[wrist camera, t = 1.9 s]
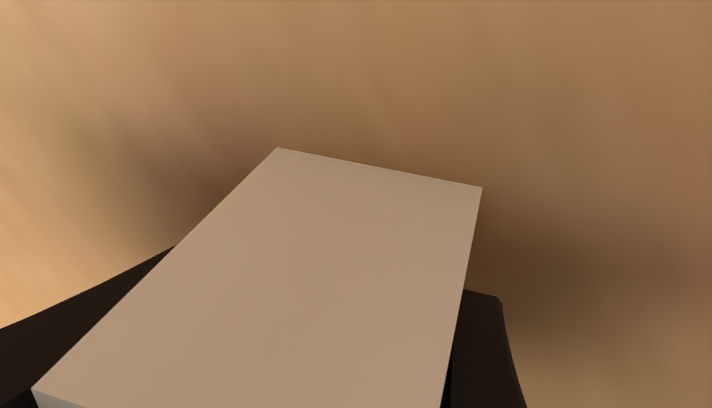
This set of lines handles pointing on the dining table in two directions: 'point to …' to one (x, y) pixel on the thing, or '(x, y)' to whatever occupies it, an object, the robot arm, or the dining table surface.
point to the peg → (289, 298)
